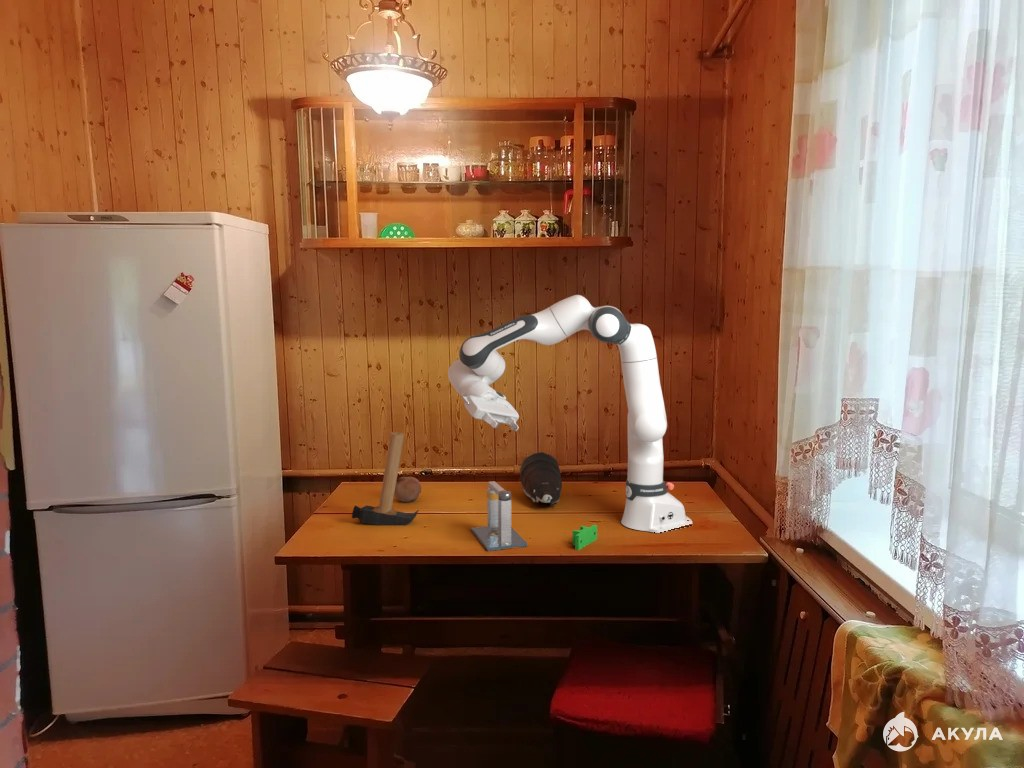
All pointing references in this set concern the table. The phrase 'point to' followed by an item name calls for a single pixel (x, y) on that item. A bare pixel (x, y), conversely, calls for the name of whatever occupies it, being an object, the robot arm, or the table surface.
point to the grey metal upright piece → (503, 512)
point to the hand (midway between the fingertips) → (506, 427)
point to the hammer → (387, 492)
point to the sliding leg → (492, 508)
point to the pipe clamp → (584, 536)
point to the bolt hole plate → (491, 538)
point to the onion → (407, 489)
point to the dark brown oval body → (541, 478)
